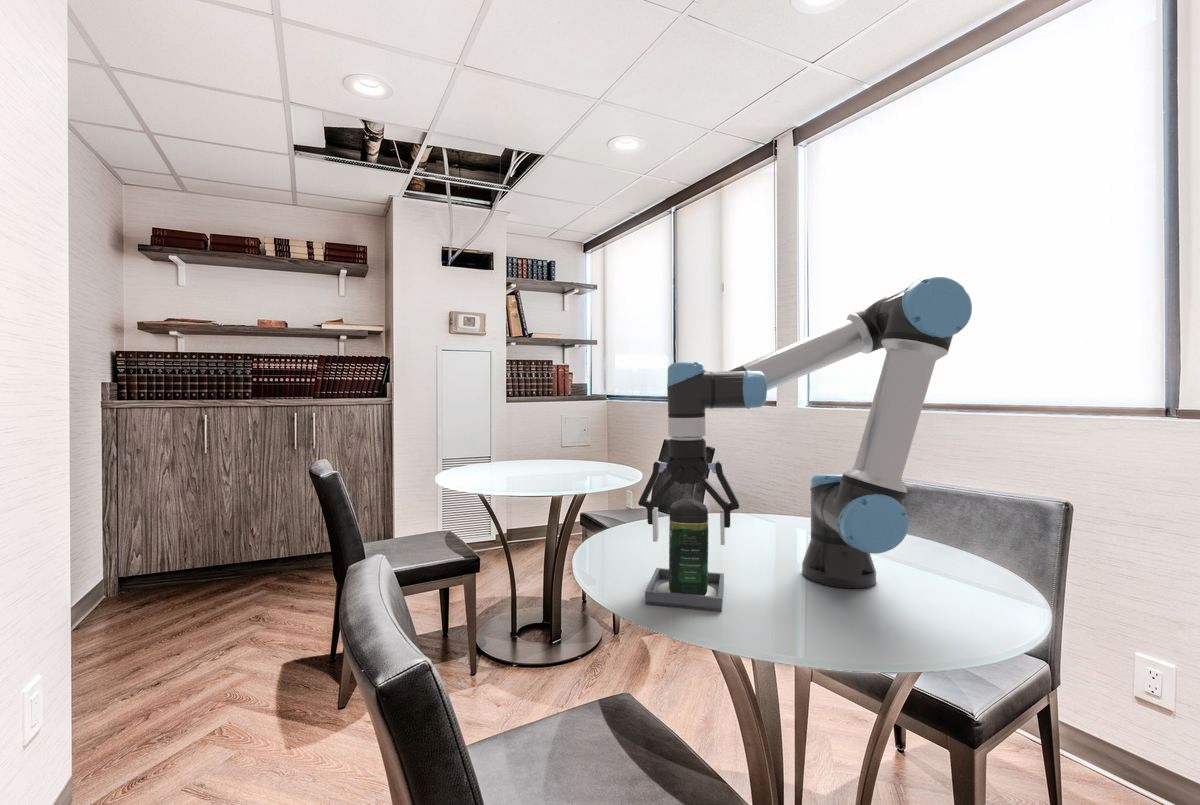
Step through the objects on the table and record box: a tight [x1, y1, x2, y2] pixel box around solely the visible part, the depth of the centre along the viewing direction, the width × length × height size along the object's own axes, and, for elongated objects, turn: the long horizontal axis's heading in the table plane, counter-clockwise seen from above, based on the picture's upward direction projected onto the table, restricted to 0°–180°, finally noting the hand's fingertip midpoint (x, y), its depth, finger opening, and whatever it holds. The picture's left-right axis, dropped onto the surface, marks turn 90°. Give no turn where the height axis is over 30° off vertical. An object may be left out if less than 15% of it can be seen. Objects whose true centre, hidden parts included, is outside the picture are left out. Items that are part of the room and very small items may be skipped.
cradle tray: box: [644, 567, 725, 613], centre depth 109 cm, size 15×15×2 cm
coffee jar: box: [668, 498, 709, 596], centre depth 109 cm, size 10×8×19 cm
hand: (688, 541), depth 109 cm, fingers open, 13 cm apart
